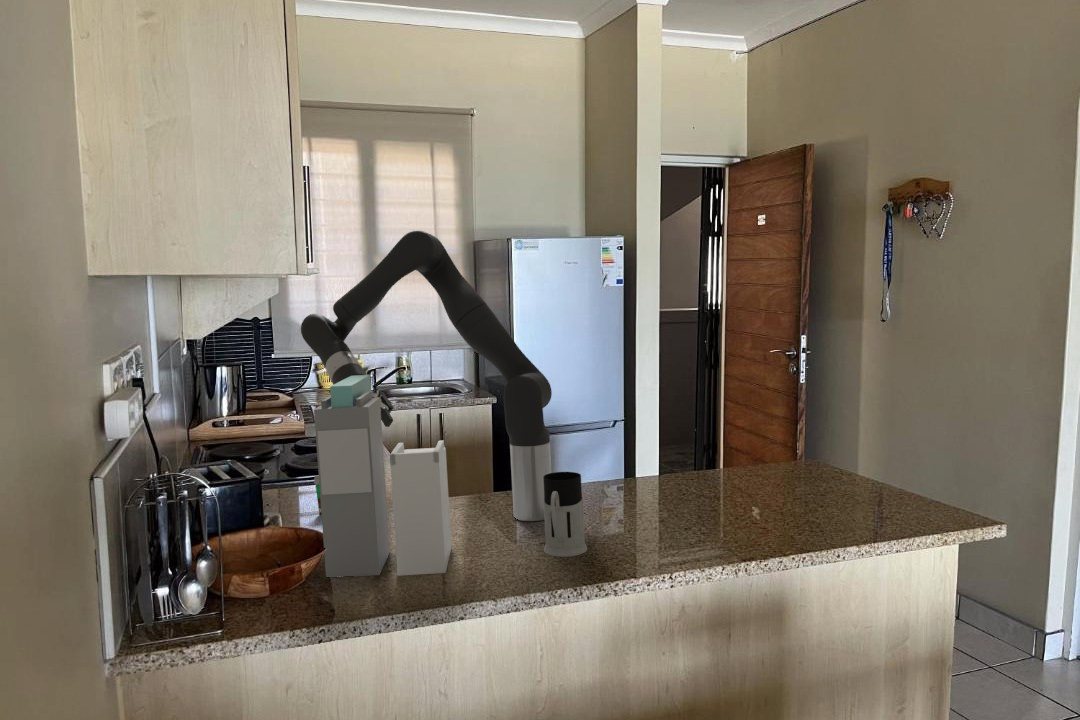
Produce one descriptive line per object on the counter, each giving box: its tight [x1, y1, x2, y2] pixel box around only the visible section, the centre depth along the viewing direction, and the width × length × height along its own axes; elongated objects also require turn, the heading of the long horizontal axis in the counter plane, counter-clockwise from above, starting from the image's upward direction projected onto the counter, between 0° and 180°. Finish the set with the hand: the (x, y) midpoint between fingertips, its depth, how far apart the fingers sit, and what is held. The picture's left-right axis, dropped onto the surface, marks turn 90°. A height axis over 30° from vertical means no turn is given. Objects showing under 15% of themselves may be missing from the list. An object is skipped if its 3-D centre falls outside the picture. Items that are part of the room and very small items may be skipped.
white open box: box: [389, 439, 452, 577], centre depth 158 cm, size 9×15×23 cm, turn 2°
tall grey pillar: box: [313, 390, 391, 578], centre depth 157 cm, size 10×13×34 cm
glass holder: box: [543, 471, 588, 558], centre depth 159 cm, size 9×14×15 cm, turn 167°
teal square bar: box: [329, 374, 372, 408], centre depth 160 cm, size 4×20×4 cm, turn 2°
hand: (374, 421), depth 176 cm, fingers open, 8 cm apart
